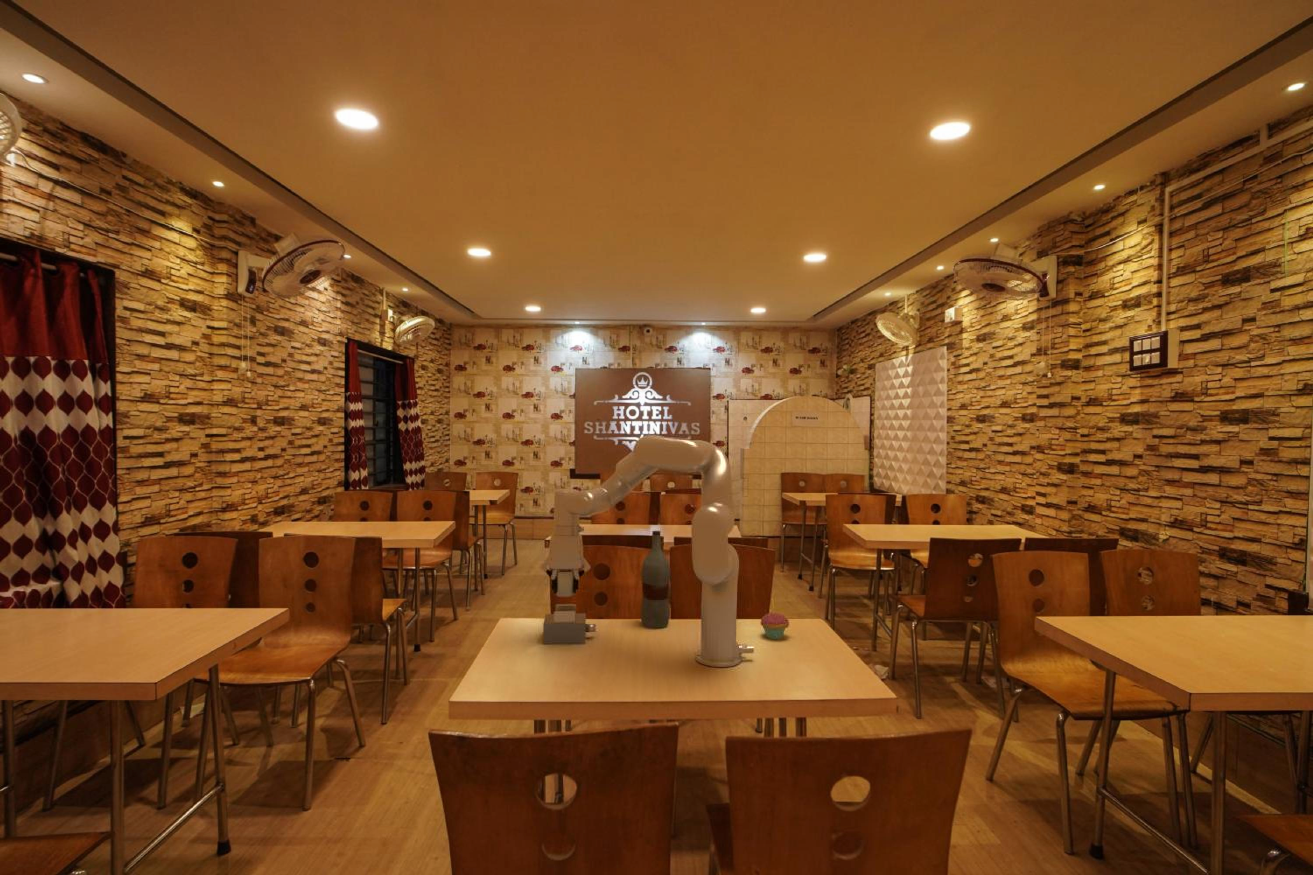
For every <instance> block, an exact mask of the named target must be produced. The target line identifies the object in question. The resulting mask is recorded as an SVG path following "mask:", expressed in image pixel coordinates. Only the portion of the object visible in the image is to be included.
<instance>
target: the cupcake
mask: <svg viewBox="0 0 1313 875" xmlns="http://www.w3.org/2000/svg"><path fill="white" fill-rule="evenodd" d="M770 601H771V612H770V613H766V614H764V615H763V616H762V617H761V618H760V625H761V627H762V628H763V630H764V634H765V637H766V638H767V637H768V639H769V638H771V639H770V640H781V639H782V638H783V635H784V633H785V630H786V628H789V626H790V621H789V619H788V618H787V617H786V616H785V615H783V614H781V613H777V612H775V605H774V603H775V602H774V601H775V600H774V598H773V597H771V600H770Z"/></svg>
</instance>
